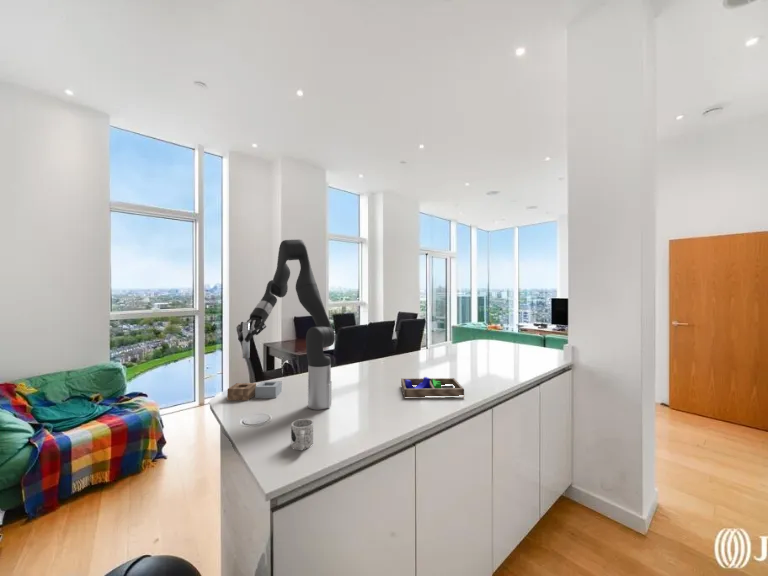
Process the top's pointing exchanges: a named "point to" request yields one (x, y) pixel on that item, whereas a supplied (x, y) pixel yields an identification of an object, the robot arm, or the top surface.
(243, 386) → the wooden square frame
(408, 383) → the cable clip
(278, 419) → the top surface
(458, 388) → the organiser frame
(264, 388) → the socket block
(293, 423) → the mug
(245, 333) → the steel axle
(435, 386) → the pipe clamp
